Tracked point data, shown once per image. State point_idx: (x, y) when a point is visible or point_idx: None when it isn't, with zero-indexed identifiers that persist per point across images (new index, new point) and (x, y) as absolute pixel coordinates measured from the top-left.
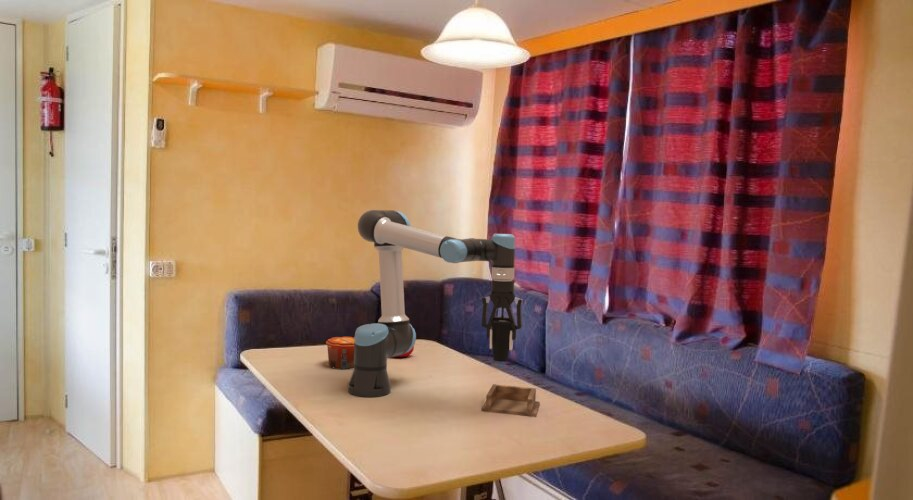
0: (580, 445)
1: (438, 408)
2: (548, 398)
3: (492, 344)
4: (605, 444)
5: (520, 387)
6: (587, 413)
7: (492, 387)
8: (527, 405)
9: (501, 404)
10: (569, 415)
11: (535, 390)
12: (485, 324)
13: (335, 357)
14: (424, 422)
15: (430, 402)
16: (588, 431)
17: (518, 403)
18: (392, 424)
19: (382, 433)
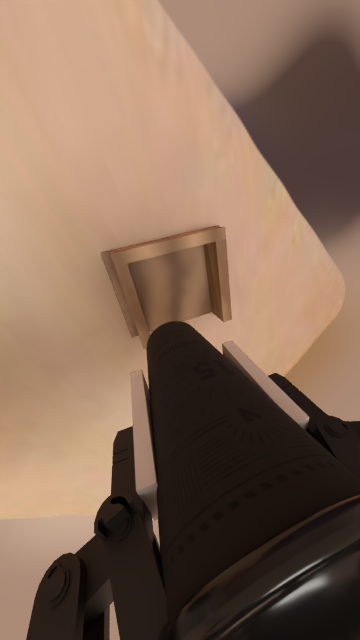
0: (281, 365)
1: (54, 370)
2: (226, 153)
3: (149, 398)
4: (304, 347)
5: (188, 242)
6: (298, 233)
7: (126, 287)
8: (218, 316)
9: (155, 294)
10: (271, 264)
11: (225, 240)
12: (105, 597)
13: None
14: (87, 426)
15: (6, 352)
16: (292, 319)
17: (183, 266)
18: (54, 457)
19: (71, 477)
